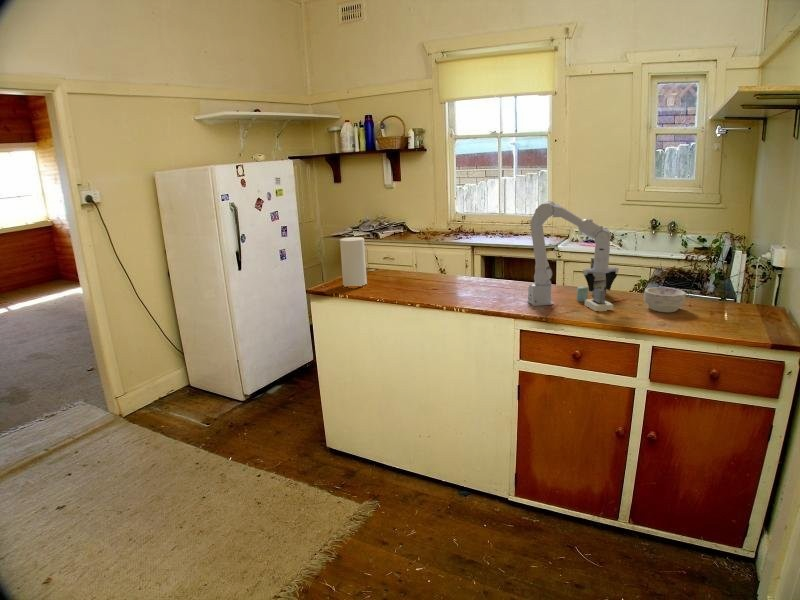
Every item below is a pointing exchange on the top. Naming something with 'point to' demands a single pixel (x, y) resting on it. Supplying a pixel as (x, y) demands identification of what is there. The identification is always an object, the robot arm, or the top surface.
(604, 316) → the top surface
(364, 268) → the cylinder
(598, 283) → the coffee box
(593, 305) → the slot plate
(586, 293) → the grey upright block
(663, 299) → the light grey bowl
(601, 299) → the bar
